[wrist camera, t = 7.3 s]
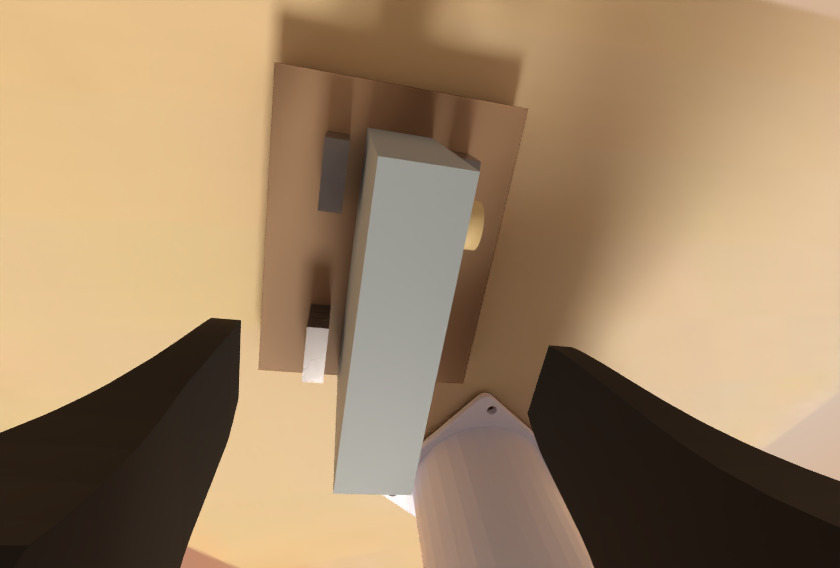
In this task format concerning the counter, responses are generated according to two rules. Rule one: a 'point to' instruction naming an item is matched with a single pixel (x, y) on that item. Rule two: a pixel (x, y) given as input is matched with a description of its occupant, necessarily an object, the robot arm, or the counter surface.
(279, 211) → the cabinet base
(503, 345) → the counter surface
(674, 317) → the counter surface
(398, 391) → the grey rectangular block
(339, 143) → the short dark cabinet legs
